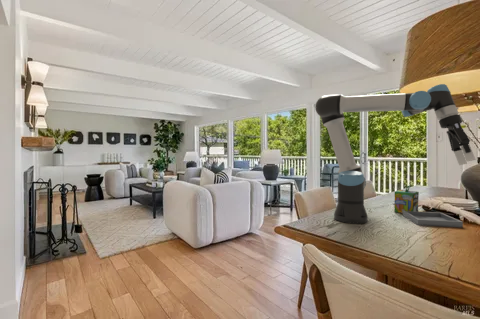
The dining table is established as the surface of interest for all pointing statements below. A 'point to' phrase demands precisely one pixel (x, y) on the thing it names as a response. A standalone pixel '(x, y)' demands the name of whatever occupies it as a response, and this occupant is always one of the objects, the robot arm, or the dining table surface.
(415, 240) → the dining table surface
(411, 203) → the chalk box
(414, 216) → the tray
